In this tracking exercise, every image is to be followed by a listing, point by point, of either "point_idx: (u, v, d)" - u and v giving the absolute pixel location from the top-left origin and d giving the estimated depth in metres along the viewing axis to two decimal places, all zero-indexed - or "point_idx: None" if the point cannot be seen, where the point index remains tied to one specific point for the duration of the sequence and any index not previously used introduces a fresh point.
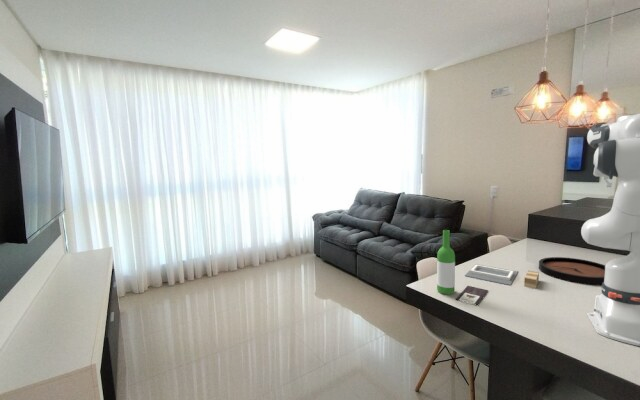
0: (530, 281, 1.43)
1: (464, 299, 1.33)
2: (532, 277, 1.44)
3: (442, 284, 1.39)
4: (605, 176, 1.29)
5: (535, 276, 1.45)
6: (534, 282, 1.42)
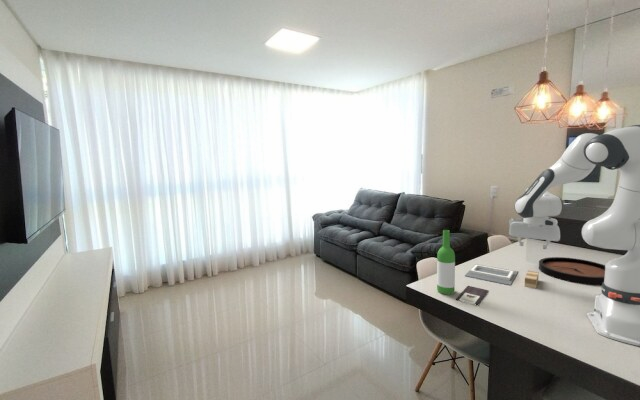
0: (530, 281, 1.42)
1: (464, 299, 1.33)
2: (532, 277, 1.44)
3: (442, 284, 1.39)
4: (518, 236, 1.48)
5: (535, 276, 1.45)
6: (534, 282, 1.41)
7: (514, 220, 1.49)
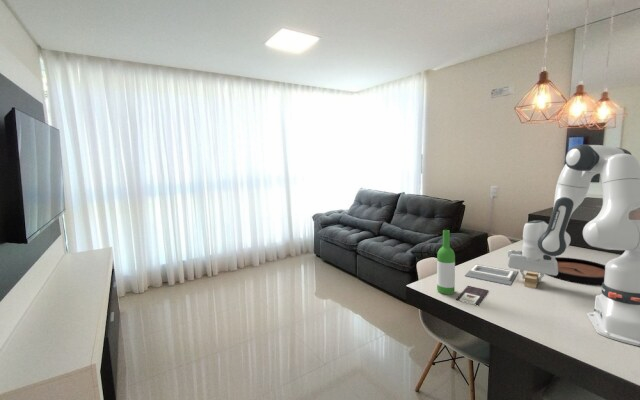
0: (530, 280, 1.42)
1: (464, 299, 1.33)
2: (532, 276, 1.44)
3: (442, 284, 1.39)
4: None
5: (535, 276, 1.45)
6: (534, 282, 1.41)
7: (513, 252, 1.51)
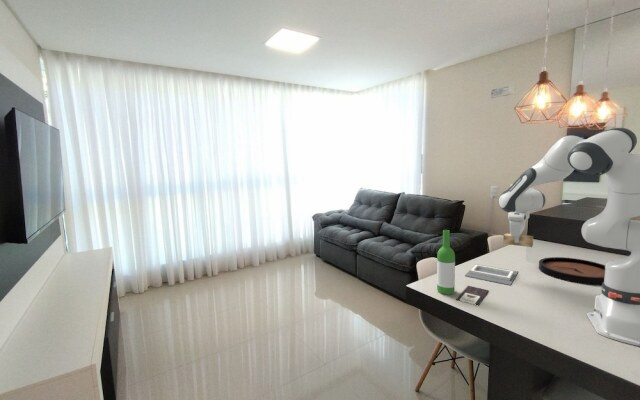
0: None
1: (464, 299, 1.33)
2: None
3: (442, 284, 1.39)
4: None
5: None
6: None
7: None
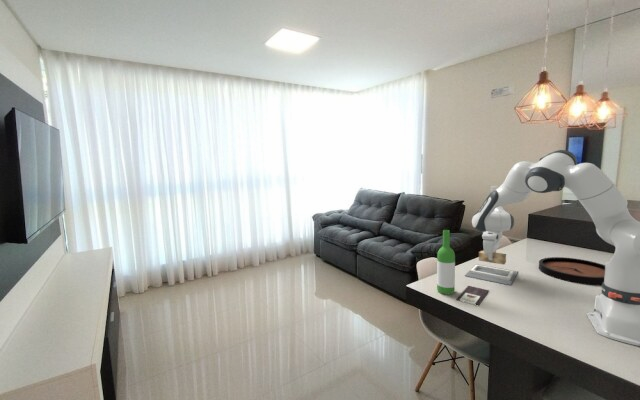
0: None
1: (465, 299, 1.32)
2: None
3: (442, 284, 1.39)
4: None
5: None
6: None
7: None
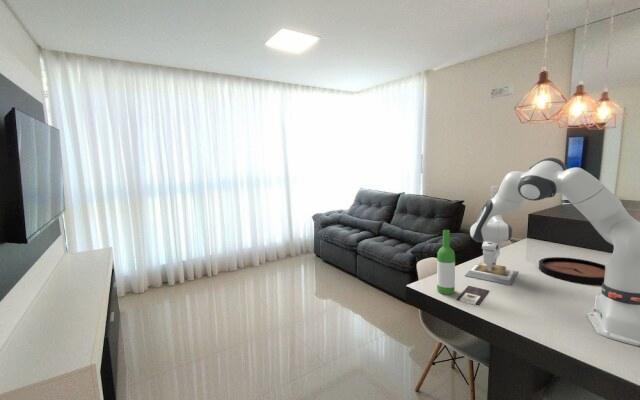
0: None
1: (465, 299, 1.32)
2: (485, 264, 1.61)
3: (442, 284, 1.39)
4: None
5: None
6: None
7: None
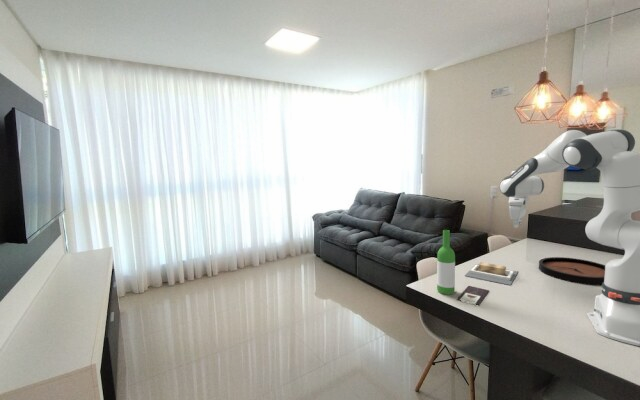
0: None
1: (465, 299, 1.32)
2: (485, 264, 1.61)
3: (442, 284, 1.39)
4: None
5: (488, 265, 1.60)
6: None
7: None
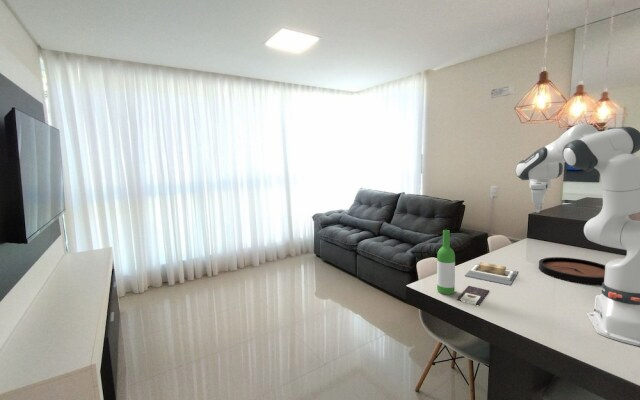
0: None
1: (465, 299, 1.32)
2: (485, 264, 1.61)
3: (442, 284, 1.39)
4: None
5: (488, 265, 1.60)
6: None
7: None
